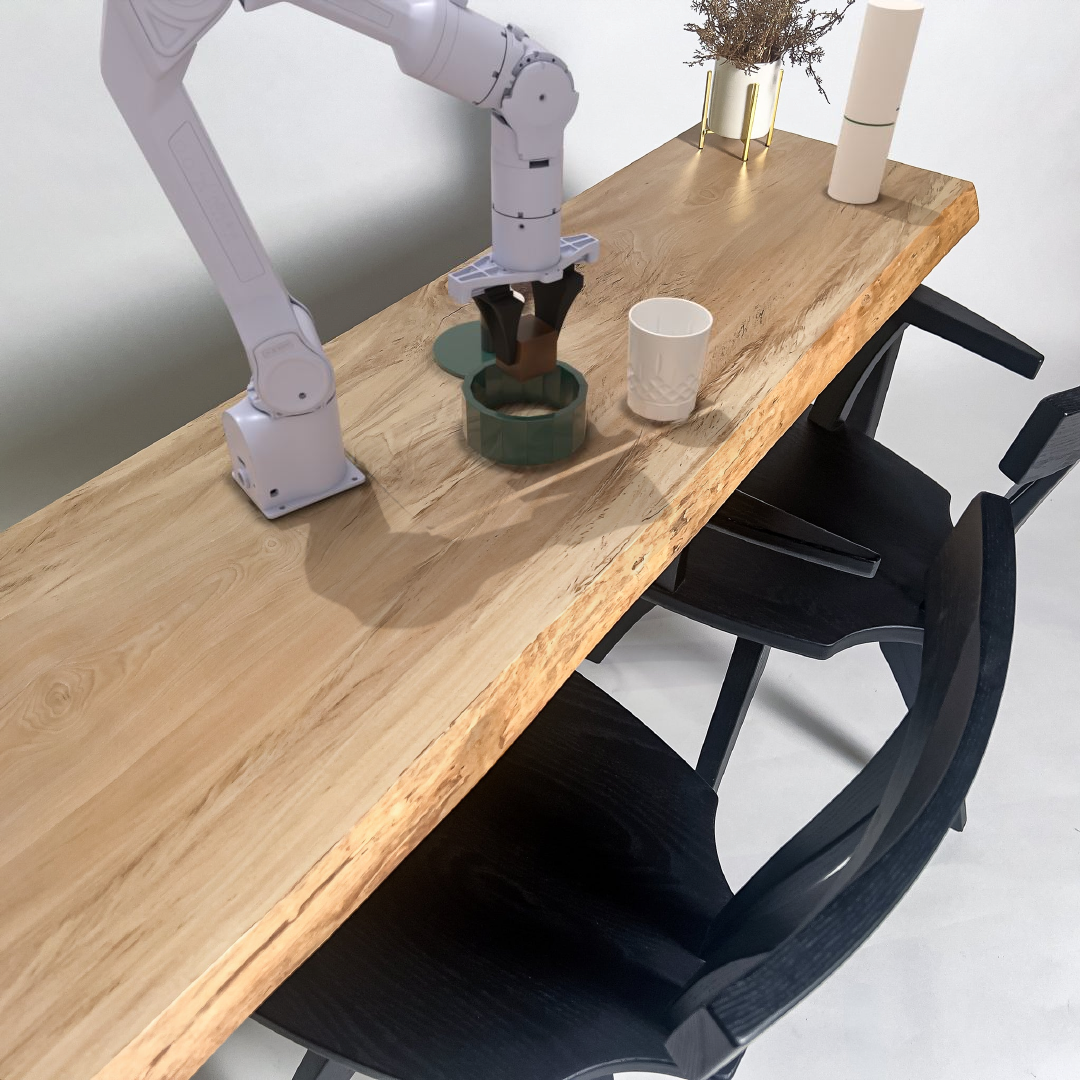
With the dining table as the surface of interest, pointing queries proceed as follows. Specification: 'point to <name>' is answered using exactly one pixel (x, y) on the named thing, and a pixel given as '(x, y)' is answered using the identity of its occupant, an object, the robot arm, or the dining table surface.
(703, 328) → the white cup
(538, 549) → the dining table surface
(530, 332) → the block
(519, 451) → the crock
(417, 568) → the dining table surface
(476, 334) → the lid
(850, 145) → the cylindrical container
